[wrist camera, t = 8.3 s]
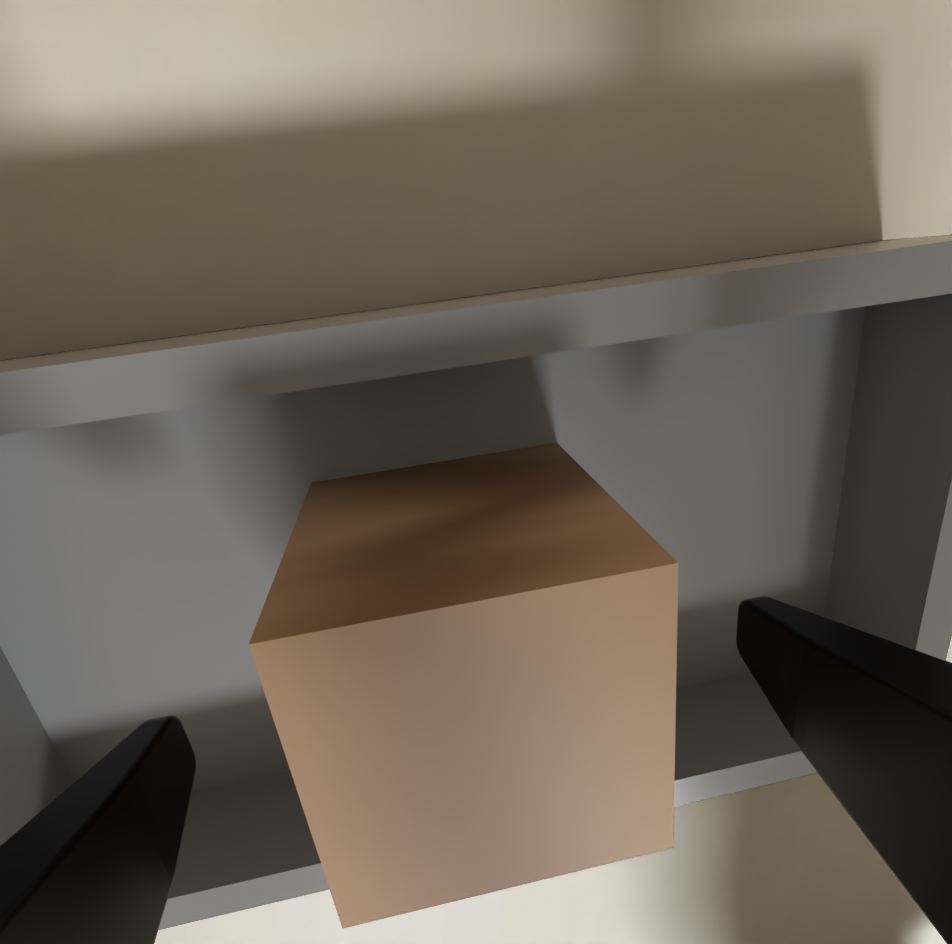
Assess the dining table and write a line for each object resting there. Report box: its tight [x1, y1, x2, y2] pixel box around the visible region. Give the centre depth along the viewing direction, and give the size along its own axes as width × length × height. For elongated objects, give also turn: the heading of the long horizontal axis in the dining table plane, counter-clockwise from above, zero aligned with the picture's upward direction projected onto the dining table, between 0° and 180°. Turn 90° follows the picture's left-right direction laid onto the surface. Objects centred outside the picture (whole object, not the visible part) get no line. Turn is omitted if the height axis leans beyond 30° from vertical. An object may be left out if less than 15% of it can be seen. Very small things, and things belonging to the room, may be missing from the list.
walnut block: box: [249, 443, 678, 928], centre depth 9 cm, size 5×5×5 cm
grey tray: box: [0, 235, 952, 930], centre depth 11 cm, size 20×11×3 cm, turn 97°
